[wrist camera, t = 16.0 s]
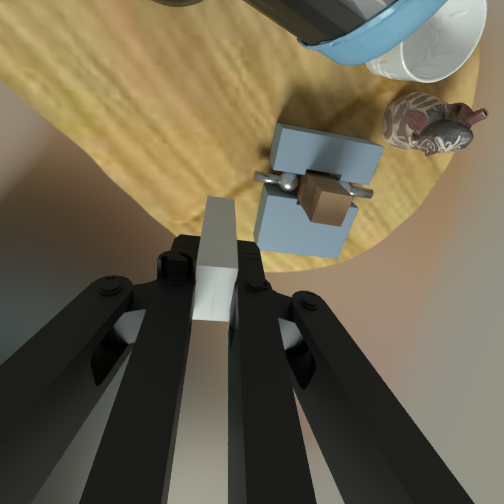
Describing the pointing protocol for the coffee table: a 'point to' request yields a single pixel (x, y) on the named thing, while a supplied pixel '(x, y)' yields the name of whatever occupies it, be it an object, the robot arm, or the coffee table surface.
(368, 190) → the plunger
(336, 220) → the peg
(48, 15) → the coffee table surface
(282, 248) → the socket board
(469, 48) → the white cup
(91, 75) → the coffee table surface
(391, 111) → the figurine
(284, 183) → the plunger
